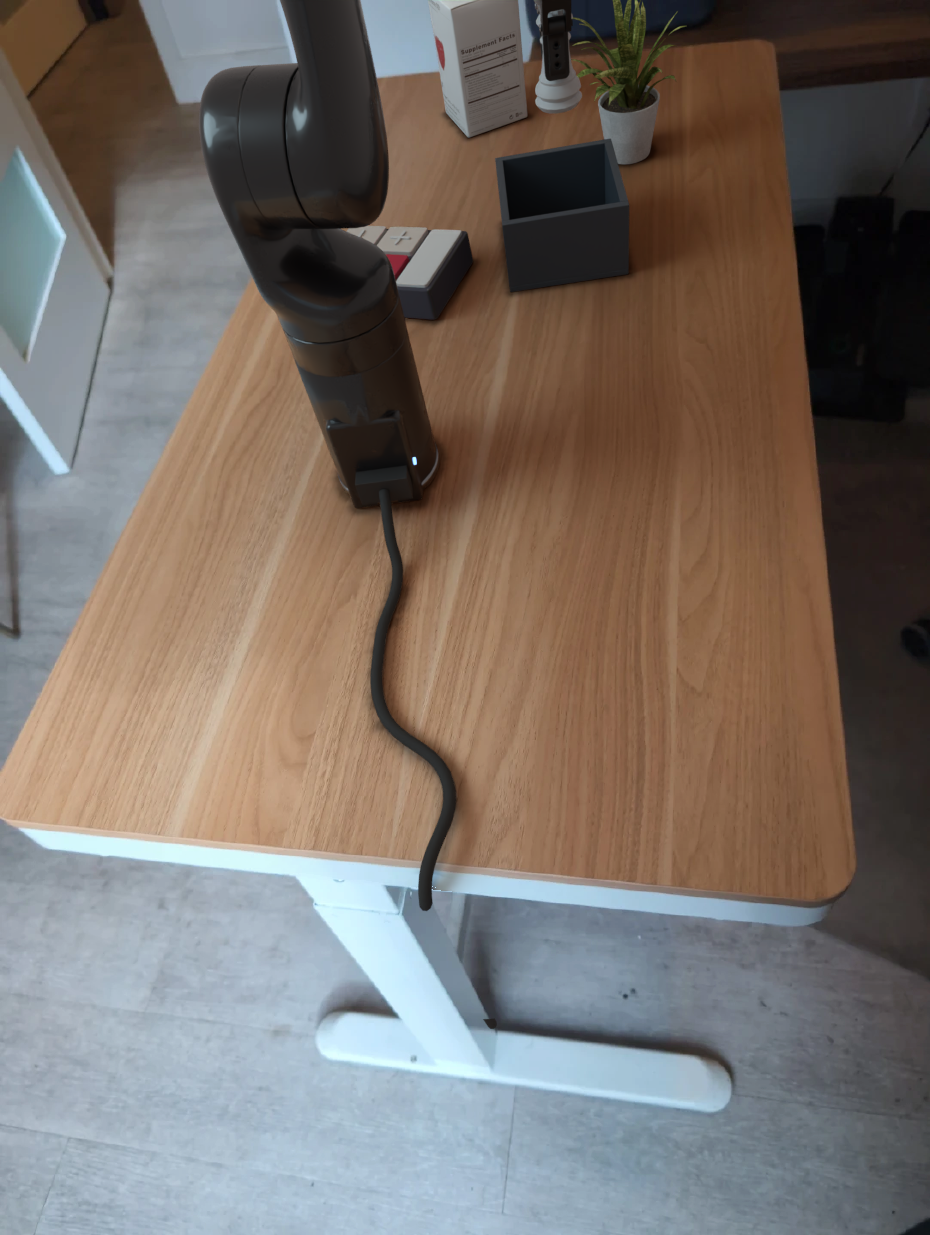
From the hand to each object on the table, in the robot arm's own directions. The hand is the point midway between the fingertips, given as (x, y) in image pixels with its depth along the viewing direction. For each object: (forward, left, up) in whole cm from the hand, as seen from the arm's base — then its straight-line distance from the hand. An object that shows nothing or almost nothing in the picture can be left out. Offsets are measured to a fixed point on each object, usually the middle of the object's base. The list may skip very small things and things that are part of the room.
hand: (555, 68), depth 77 cm
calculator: (-1, +19, -19) cm, 27 cm away
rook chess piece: (0, 0, -3) cm, 3 cm away
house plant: (+20, -9, -19) cm, 29 cm away
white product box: (+35, +7, -19) cm, 41 cm away
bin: (+1, 0, -19) cm, 19 cm away
